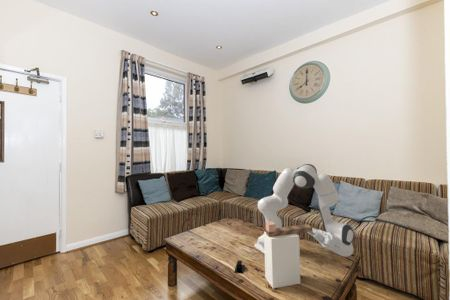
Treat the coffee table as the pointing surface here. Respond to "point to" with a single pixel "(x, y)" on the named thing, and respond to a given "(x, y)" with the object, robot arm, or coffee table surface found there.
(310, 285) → the coffee table surface
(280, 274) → the pedestal
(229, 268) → the coffee table surface
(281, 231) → the walnut strip
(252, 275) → the coffee table surface
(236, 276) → the coffee table surface
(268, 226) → the terracotta cube
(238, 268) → the black angular part
